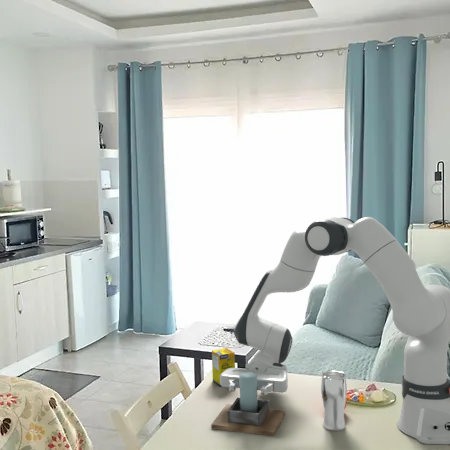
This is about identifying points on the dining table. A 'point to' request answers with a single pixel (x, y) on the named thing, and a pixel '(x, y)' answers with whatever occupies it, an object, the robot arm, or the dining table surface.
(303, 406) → the dining table surface
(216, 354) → the supplement box
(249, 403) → the teal cylinder
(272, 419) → the cup bracket
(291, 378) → the dining table surface
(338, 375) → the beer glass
